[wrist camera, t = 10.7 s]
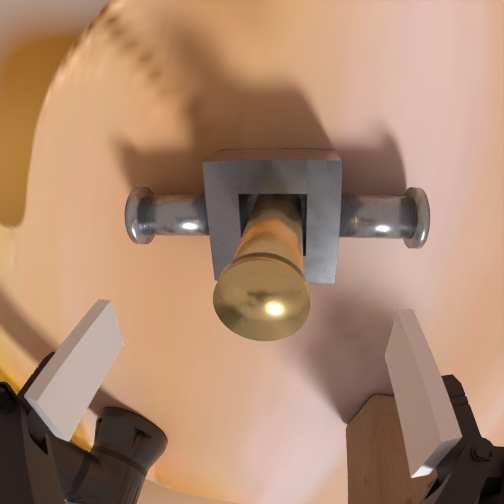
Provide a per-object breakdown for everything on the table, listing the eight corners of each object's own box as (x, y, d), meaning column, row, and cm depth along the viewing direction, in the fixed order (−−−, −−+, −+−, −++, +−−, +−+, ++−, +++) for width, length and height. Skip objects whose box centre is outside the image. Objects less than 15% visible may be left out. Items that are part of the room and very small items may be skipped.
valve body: (159, 249, 32) (137, 277, 28) (145, 156, 28) (115, 169, 23) (400, 254, 29) (417, 284, 24) (412, 154, 24) (437, 168, 20)
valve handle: (253, 231, 28) (218, 338, 16) (250, 181, 26) (207, 261, 14) (304, 232, 28) (306, 342, 15) (305, 181, 26) (312, 263, 13)
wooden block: (371, 390, 39) (385, 521, 21) (426, 396, 38) (450, 511, 21) (343, 426, 43) (344, 538, 26) (394, 430, 43) (405, 532, 26)
